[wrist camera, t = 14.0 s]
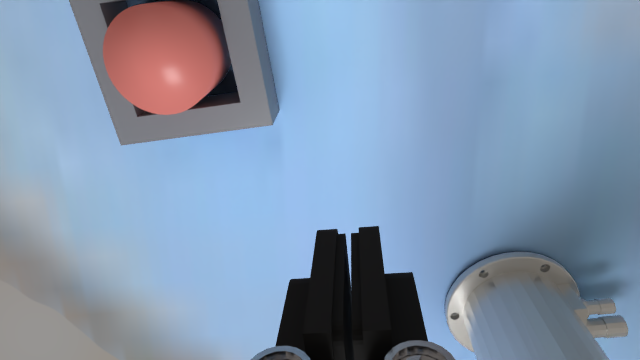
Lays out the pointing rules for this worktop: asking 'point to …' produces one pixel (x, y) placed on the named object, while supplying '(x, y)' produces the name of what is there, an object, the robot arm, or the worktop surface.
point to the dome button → (166, 54)
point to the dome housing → (211, 111)
